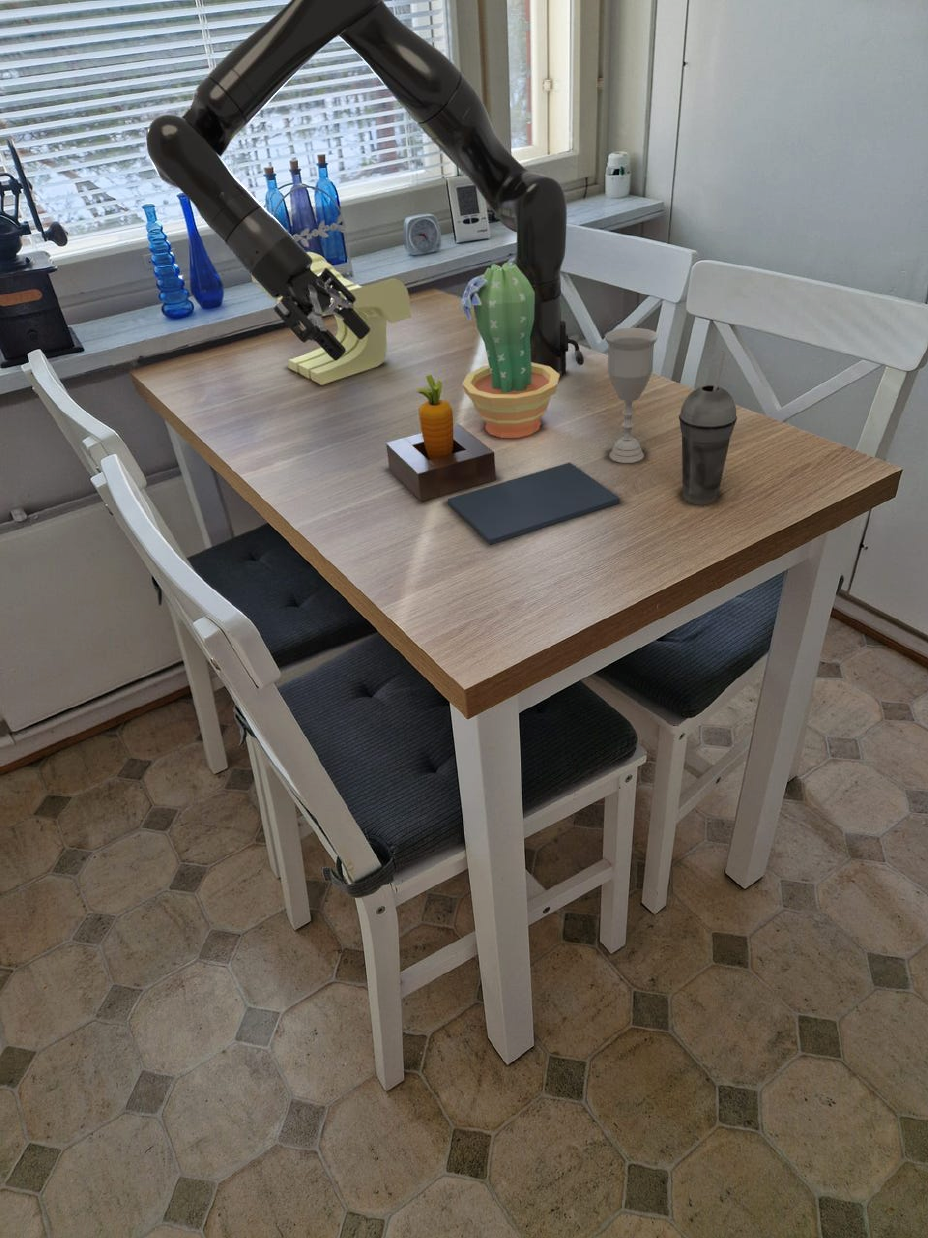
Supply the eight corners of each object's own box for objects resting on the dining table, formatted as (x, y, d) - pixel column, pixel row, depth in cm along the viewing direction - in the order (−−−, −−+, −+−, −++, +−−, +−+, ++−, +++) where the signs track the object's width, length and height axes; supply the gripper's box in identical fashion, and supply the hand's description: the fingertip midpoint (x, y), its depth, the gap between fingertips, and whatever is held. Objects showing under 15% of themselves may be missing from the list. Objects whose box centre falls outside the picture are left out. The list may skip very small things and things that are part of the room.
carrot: (454, 483, 129) (445, 384, 120) (421, 482, 130) (410, 384, 121) (461, 467, 133) (453, 371, 124) (429, 466, 134) (419, 371, 125)
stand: (460, 450, 138) (458, 423, 135) (496, 480, 129) (494, 451, 126) (389, 470, 134) (385, 442, 131) (421, 502, 125) (417, 473, 122)
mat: (569, 467, 130) (569, 462, 130) (619, 502, 121) (619, 497, 120) (447, 503, 124) (447, 498, 124) (490, 544, 114) (489, 539, 114)
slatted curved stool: (417, 372, 166) (406, 274, 155) (344, 396, 159) (328, 296, 148) (336, 336, 186) (321, 248, 175) (268, 357, 179) (249, 266, 168)
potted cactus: (489, 402, 152) (480, 250, 137) (574, 412, 146) (574, 254, 131) (449, 439, 141) (434, 278, 126) (539, 452, 135) (534, 284, 120)
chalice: (655, 447, 133) (662, 328, 123) (647, 467, 128) (654, 345, 118) (607, 443, 136) (610, 326, 125) (597, 463, 131) (599, 343, 120)
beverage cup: (666, 486, 123) (676, 345, 111) (717, 481, 123) (733, 340, 112) (681, 512, 117) (693, 366, 106) (735, 506, 118) (753, 360, 106)
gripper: (258, 248, 112) (349, 346, 116) (308, 220, 122) (389, 311, 127) (228, 286, 116) (316, 380, 120) (278, 257, 127) (358, 344, 131)
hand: (354, 345), depth 124 cm, fingers open, 8 cm apart
